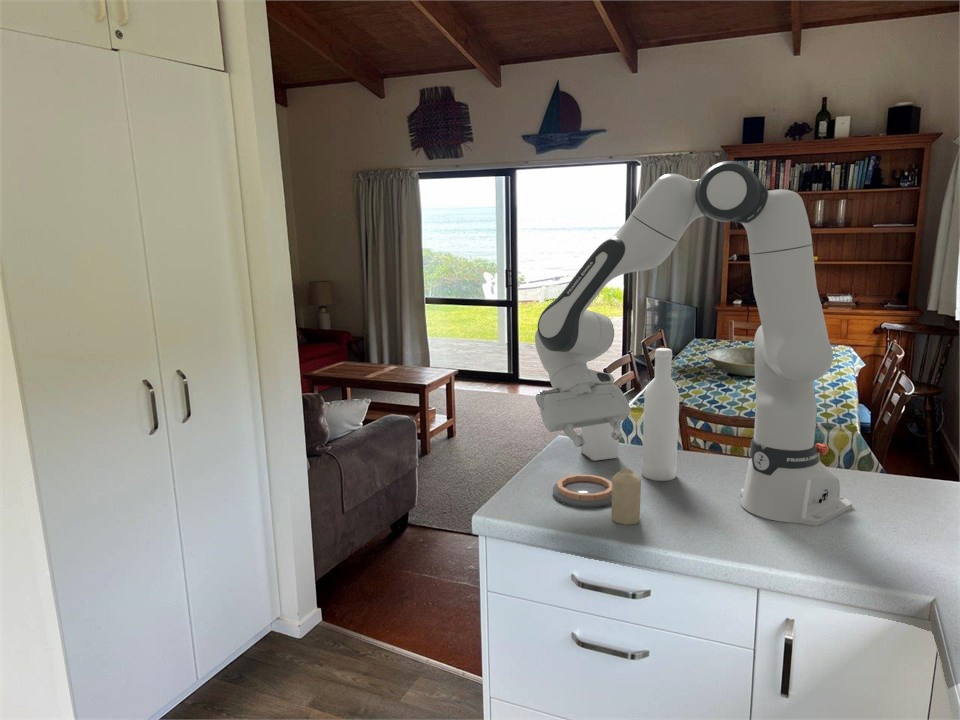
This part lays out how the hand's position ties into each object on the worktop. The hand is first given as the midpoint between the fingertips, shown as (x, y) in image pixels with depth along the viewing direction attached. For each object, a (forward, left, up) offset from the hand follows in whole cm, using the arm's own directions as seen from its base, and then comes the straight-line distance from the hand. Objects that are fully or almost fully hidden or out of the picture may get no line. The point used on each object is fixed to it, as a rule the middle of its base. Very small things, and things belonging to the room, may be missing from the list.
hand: (599, 441), depth 138 cm
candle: (0, +9, -14) cm, 16 cm away
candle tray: (0, -5, -13) cm, 14 cm away
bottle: (-22, -7, -14) cm, 27 cm away
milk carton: (-18, -25, -14) cm, 34 cm away
